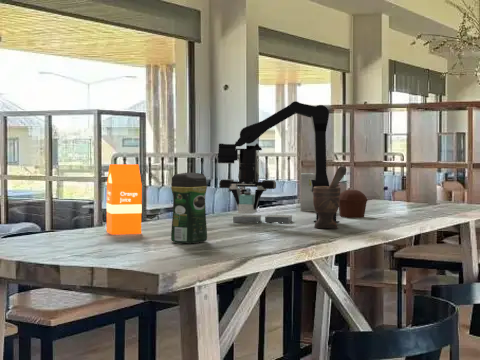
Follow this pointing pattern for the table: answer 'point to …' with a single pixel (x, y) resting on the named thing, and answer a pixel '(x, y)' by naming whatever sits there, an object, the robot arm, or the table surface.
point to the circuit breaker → (306, 192)
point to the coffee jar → (189, 208)
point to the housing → (246, 203)
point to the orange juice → (124, 199)
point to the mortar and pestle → (328, 201)
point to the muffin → (352, 204)
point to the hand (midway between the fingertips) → (247, 209)
